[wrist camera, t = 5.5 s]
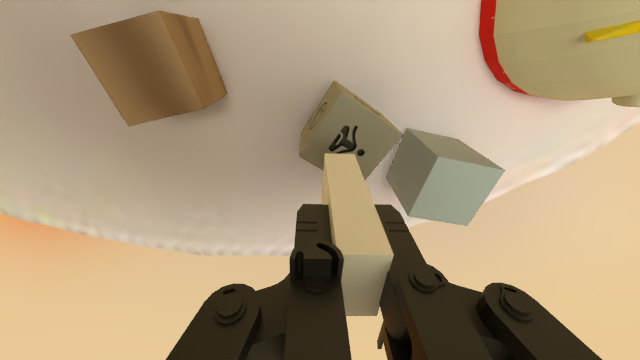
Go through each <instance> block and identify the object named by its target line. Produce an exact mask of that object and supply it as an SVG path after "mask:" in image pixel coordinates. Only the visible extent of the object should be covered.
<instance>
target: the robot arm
mask: <svg viewBox="0 0 640 360" xmlns="http://www.w3.org/2000/svg"><path fill="white" fill-rule="evenodd" d="M379 307H380V308H381V312H382V315H383V319H384V321H383V324H382V327H381V331H380V334H379V337H378V340H377V342H378V343H377V344H378V349H381V348H382V345H383V342H384V346H385V350H386V355H387V358H388V360H602V359H601V358H600V357H599V356H597V355H596V354H595V353H594V352H593V351H592V350H591V349H590V348H589V347H587V346H586V345H585V344H584V343H583V342H582V341H581V340H580V339H578V338H577V337H576V336H575V335H574V334H573V333H572V332H571V331H569V330H568V329H567V328H566V327H565V326H564V325H563V324H562V323H560V322H559V321H558V320H557V319H556V318H555V317H554V316H553V315H551V314H550V313H549V312H548V311H547V310H546V309H545V308H544V307H543V306H541V305H540V304H539V303H538V302H537V301H536V300H535V299H533V298H532V297H531V296H529V295H528V294H526V293H525V292H524V291H522V290H520V289H518V288H516V287H514V286H511V285H507V284H504V283H491V284H490V285H488V286H486V287H485V289H484V291H483V292H479V291H475V290H472V289H468V288H464V287H461V286H457V285H454V284H451V283H449V282H448V280H447V279H446V278H445V277H444V276H443V274H442V273H441V272H440V271H438V270H437V269H436V268H434V267H433V266H430V265H428V264H426V262H425V260H424V258H423V256H422V254H421V252H420V250H419V249H418V247H417V245H416V243H415V241H414V239H413V237H412V235H411V233H410V232H409V229H408V227H407V226H406V224H405V222H404V220H403V218H402V216H401V214H400V213H399V212H398V211H397V210H396V209H395V208H394V207H393V206H391V205H374V203H373V200H372V198H371V195H370V193H369V190H368V188H367V185H366V182H365V180H364V177H363V175H362V172H361V170H360V167H359V164H358V162H357V159H356V157H355V154H331V153H325V156H324V173H323V190H322V204H303V205H302V206H301V208H300V209H299V210H298V212H297V221H296V234H295V246H294V249H293V251H292V253H291V256H290V273H289V274H288V276H287V277H286V278H285V279H284V280H282V281H281V282H279V283H278V284H275V285H273V286H271V287H267V288H264V289H261V290H258V291H255V290H254V289H253V288H252V287H250V286H247V285H245V284H231V285H227V286H224V287H222V288H220V289H219V290H217V291H215V292H214V293H212V295H211V296H210V297H209V298H208V299H207V300H206V301H205V302H204V304H203V305H202V307H201V308H200V310H199V311H198V313H197V314H196V316H195V317H194V319H193V320H192V321H191V323H190V325H189V326H188V327H187V329H186V330H185V332H184V333H183V335H182V336H181V338H180V339H179V341H178V342H177V344H176V345H175V347H174V348H173V350H172V351H171V353H170V354H169V356H168V357H167V359H166V360H351V353H350V345H349V338H348V329H347V322H346V316H377V314H378V310H379Z"/></svg>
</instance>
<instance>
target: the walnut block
mask: <svg viewBox="0 0 640 360" xmlns="http://www.w3.org/2000/svg"><path fill="white" fill-rule="evenodd" d="M71 37H72V38H73V40H74V42H75V43H76V45H77V46H78V48H79V49H80V51H81V53H82V54H83V56H84V57H85V59H86V60H87V62H88V64H89V65H90V67H91V68H92V70H93V71H94V73H95V75H96V76H97V78H98V79H99V81H100V82H101V84H102V86H103V87H104V89H105V90H106V92H107V93H108V95H109V97H110V98H111V100H112V101H113V103H114V104H115V106H116V108H117V109H118V111H119V112H120V114H121V115H122V117H123V119H124V120H125V122H126V123H127V125H128V126H132V125H136V124H140V123H144V122H149V121H153V120H157V119H161V118H166V117H170V116H174V115H178V114H182V113H187V112H191V111H195V110H199V109H204V108H205V107H207V106H208V105H210V104H211V103H213V102H215V101H216V100H218V99H219V98H221V97H223V96H224V95H226V94H227V91H226V88H225V86H224V83H223V80H222V78H221V75H220V73H219V70H218V68H217V65H216V63H215V60H214V58H213V55H212V52H211V50H210V47H209V45H208V42H207V40H206V37H205V35H204V32H203V30H202V27H201V24H200V22H199V19H198V18H193V17H188V16H183V15H178V14H173V13H168V12H163V11H156V12H153V13H149V14H145V15H142V16H138V17H134V18H131V19H127V20H123V21H120V22H116V23H112V24H109V25H105V26H101V27H98V28H94V29H90V30H87V31H83V32H79V33H76V34H72V35H71Z"/></svg>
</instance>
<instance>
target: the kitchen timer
mask: <svg viewBox="0 0 640 360" xmlns="http://www.w3.org/2000/svg"><path fill="white" fill-rule="evenodd" d="M479 37H480V41H481V46H482V50H483V55H484V59H485V62H486V63H487V65H488V66H489V68H490V70H491V71H492V73H493V74H494V76H495V77H496V79H497V80H498V81H500V82H501V83H503V84H505V85H506V86H508V87H509V88H511V89H512V90H514V91H517V92H521V93H525V94H529V95H534V96H539V97H544V98H550V99H556V100H589V99H600V98H611V97H612V102H613V103H614V104H616V105H620V106H627V107H640V0H482V1H481V11H480V28H479Z"/></svg>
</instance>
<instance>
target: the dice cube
mask: <svg viewBox="0 0 640 360" xmlns="http://www.w3.org/2000/svg"><path fill="white" fill-rule="evenodd" d="M402 136H403V135H402V134H401V133H400V132H399V131H398V130H397V129H396V128H395V127H394V126H393V125H392V123H391V122H390V121H389V120H388V119H387V118H386V117H385V116H384V115H382V114H381V113H379V112H378V111H377V110H375V109H374V108H373V107H371V106H370V105H368V104H367V103H366V102H364V101H363V100H361V99H360V98H359V97H357V96H356V95H354V94H353V93H352V92H350V91H349V90H348V89H346V88H345V87H343V86H342V85H341V84H339V83H338V82H336V81H334V82H333V84H332V85H331V87H330V89H329V90H328V92H327V93H326V95H325V96H324V98H323V100H322V101H321V103H320V104H319V106H318V107H317V109H316V111H315V112H314V114H313V115H312V117H311V118H310V120H309V121H308V123H307V125H306V126H305V128H304V129H303V131H302V132H301V143H300V153H299V157H301V158H303V159H305V160H306V161H308V162H310V163H312V164H313V165H315V166H317V167H319V168H320V169H322V170H324V156H325V153H331V154H355V157H356V159H357V162H358V164H359V167H360V170H361V172H362V175H363V177H364V180H365V179H366V178H367V177H368V176H369V175H370V173H371V172H372V171H373V170H374V169H375V167H376V166H377V165H378V164H379V163H380V162H381V160H382V159H383V158H384V157H385V156H386V155H387V153H388V152H389V151H390V150H391V149H392V148H393V146H394V145H395V144H396V143H397V142H398V141H399V139H400V138H401V137H402Z"/></svg>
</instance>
